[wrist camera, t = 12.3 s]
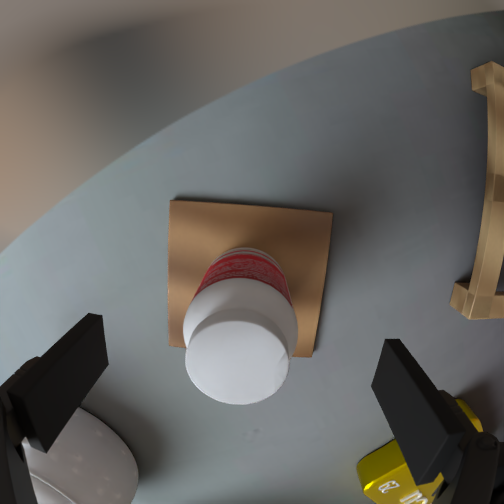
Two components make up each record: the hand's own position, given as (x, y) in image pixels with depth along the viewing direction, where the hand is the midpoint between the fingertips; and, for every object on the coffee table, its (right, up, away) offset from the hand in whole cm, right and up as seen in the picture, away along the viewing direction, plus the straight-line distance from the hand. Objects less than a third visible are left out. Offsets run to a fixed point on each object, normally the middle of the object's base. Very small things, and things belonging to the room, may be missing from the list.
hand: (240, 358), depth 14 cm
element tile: (+22, -21, +16) cm, 35 cm away
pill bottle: (0, +2, +11) cm, 11 cm away
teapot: (-21, -19, +17) cm, 33 cm away
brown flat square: (0, +2, +11) cm, 12 cm away
